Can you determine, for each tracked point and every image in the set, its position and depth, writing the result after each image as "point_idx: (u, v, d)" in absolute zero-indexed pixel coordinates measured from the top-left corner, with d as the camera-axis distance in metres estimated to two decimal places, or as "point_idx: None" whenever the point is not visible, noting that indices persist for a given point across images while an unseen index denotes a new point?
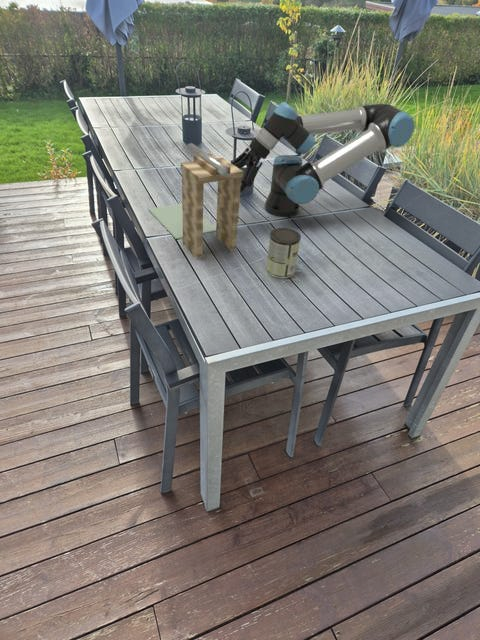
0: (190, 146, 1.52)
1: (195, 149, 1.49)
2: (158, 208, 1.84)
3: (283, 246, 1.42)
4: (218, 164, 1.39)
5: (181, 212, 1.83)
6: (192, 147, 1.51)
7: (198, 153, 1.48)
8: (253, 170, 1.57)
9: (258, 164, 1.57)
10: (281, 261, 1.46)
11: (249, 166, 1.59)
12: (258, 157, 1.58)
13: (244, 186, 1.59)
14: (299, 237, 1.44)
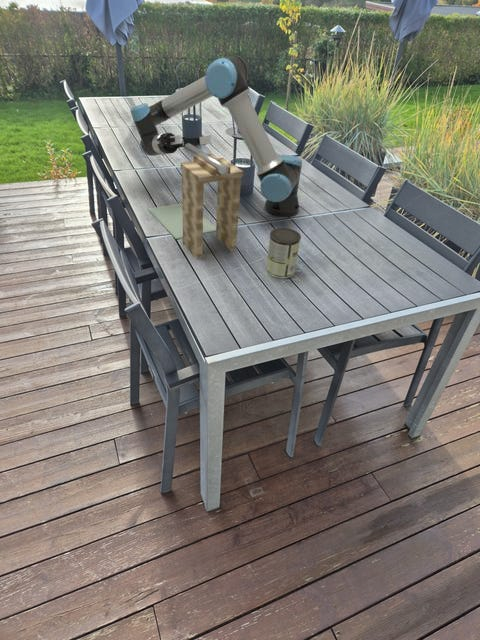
0: (188, 146, 1.51)
1: (194, 149, 1.49)
2: (158, 208, 1.84)
3: (283, 246, 1.42)
4: (219, 164, 1.39)
5: (181, 212, 1.83)
6: (190, 147, 1.51)
7: (197, 153, 1.47)
8: (160, 143, 1.63)
9: (158, 142, 1.65)
10: (281, 261, 1.46)
11: None
12: None
13: (168, 140, 1.58)
14: (299, 237, 1.44)
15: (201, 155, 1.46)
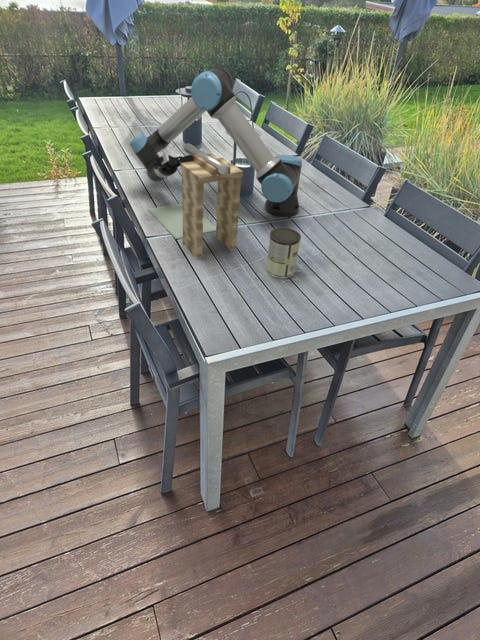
0: (188, 146, 1.51)
1: (193, 149, 1.49)
2: (158, 208, 1.84)
3: (283, 246, 1.42)
4: (219, 164, 1.39)
5: (181, 212, 1.83)
6: (190, 147, 1.51)
7: (197, 153, 1.47)
8: (154, 166, 1.67)
9: None
10: (281, 261, 1.46)
11: None
12: None
13: (157, 160, 1.61)
14: (299, 237, 1.44)
15: (201, 155, 1.46)
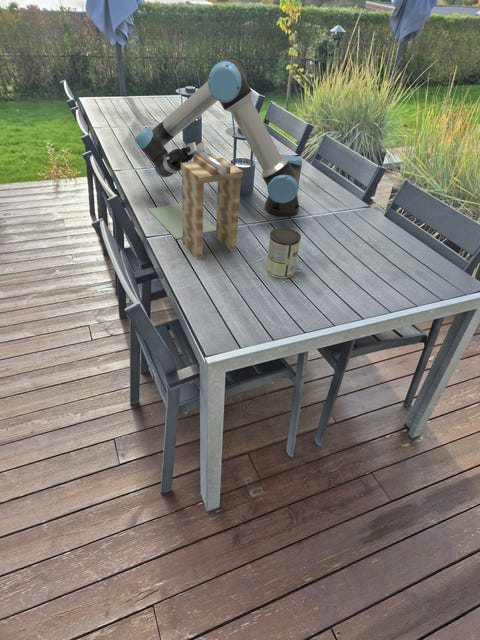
0: None
1: (196, 148, 1.49)
2: (158, 208, 1.84)
3: (283, 246, 1.42)
4: (219, 163, 1.39)
5: (181, 212, 1.83)
6: None
7: (198, 152, 1.47)
8: (172, 158, 1.57)
9: (167, 158, 1.58)
10: (281, 261, 1.46)
11: (179, 158, 1.59)
12: None
13: (183, 150, 1.52)
14: (299, 237, 1.44)
15: (202, 154, 1.46)
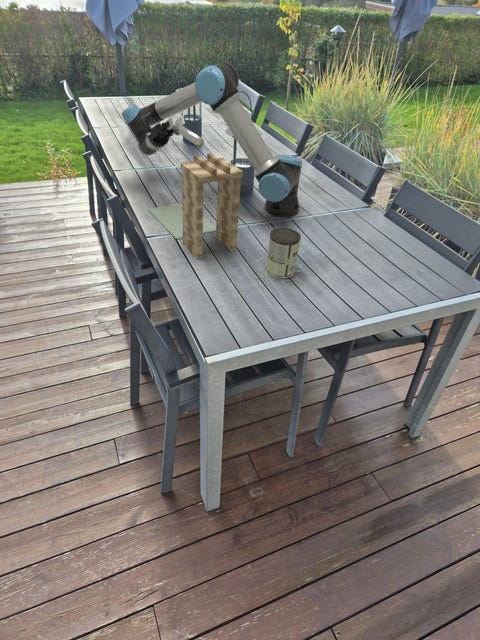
0: None
1: (175, 123, 1.56)
2: (158, 208, 1.84)
3: (283, 246, 1.42)
4: (196, 135, 1.46)
5: (181, 212, 1.83)
6: None
7: (177, 126, 1.54)
8: (152, 133, 1.63)
9: (148, 133, 1.65)
10: (281, 261, 1.46)
11: (160, 134, 1.66)
12: None
13: (163, 125, 1.58)
14: (299, 237, 1.44)
15: (181, 128, 1.53)
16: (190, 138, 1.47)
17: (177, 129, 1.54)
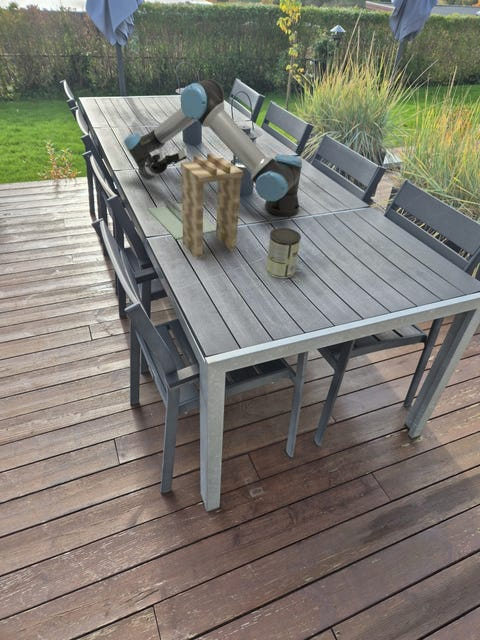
0: (168, 201, 1.84)
1: (172, 205, 1.82)
2: (158, 208, 1.84)
3: (283, 246, 1.42)
4: None
5: None
6: (170, 203, 1.83)
7: (174, 208, 1.80)
8: (148, 163, 1.75)
9: (146, 163, 1.78)
10: (281, 261, 1.46)
11: (156, 163, 1.77)
12: (150, 164, 1.81)
13: (154, 157, 1.70)
14: (299, 237, 1.44)
15: (177, 211, 1.78)
16: None
17: (174, 211, 1.79)
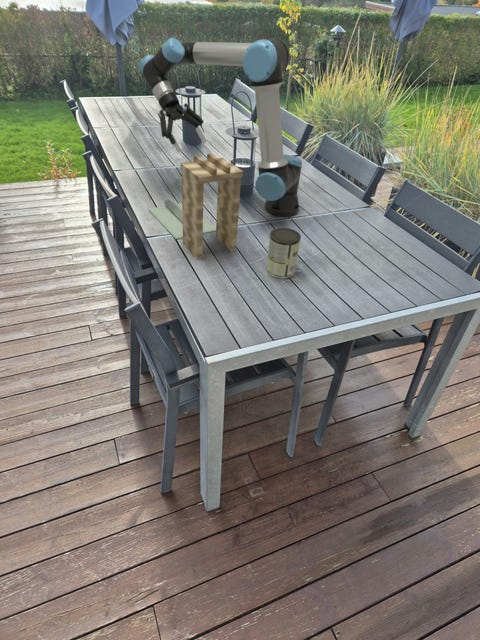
0: (168, 202, 1.84)
1: (172, 205, 1.82)
2: (158, 208, 1.84)
3: (283, 246, 1.42)
4: None
5: None
6: (169, 203, 1.83)
7: (174, 209, 1.80)
8: (161, 122, 1.70)
9: (160, 115, 1.69)
10: (281, 261, 1.46)
11: (168, 121, 1.72)
12: (164, 109, 1.71)
13: (169, 136, 1.70)
14: (299, 237, 1.44)
15: (176, 211, 1.78)
16: None
17: (174, 212, 1.79)
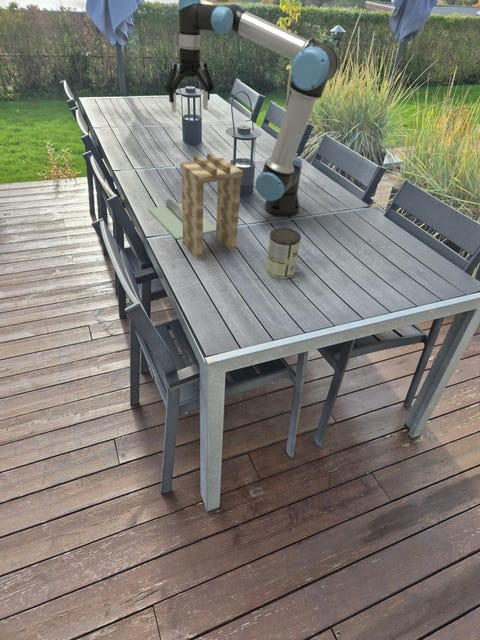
0: (169, 201, 1.84)
1: (173, 204, 1.82)
2: (158, 208, 1.84)
3: (283, 246, 1.42)
4: None
5: None
6: (171, 202, 1.83)
7: (175, 208, 1.80)
8: (169, 74, 1.62)
9: (172, 67, 1.61)
10: (281, 261, 1.46)
11: (178, 74, 1.64)
12: (180, 61, 1.61)
13: (169, 94, 1.66)
14: (299, 237, 1.44)
15: (178, 210, 1.78)
16: None
17: (175, 211, 1.79)
